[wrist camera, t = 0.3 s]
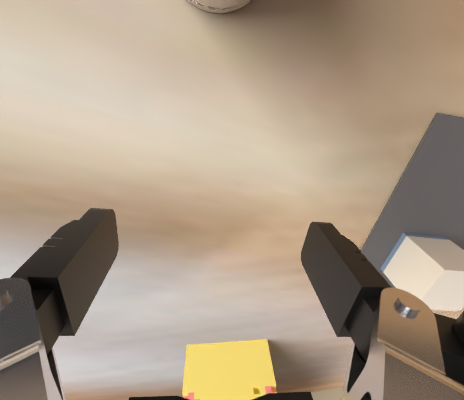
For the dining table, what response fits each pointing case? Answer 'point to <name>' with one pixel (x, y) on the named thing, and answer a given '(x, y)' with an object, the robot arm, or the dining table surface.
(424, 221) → the rubber mat
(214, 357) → the toy block
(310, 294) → the dining table surface
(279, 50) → the dining table surface
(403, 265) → the cream cube
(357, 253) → the robot arm
